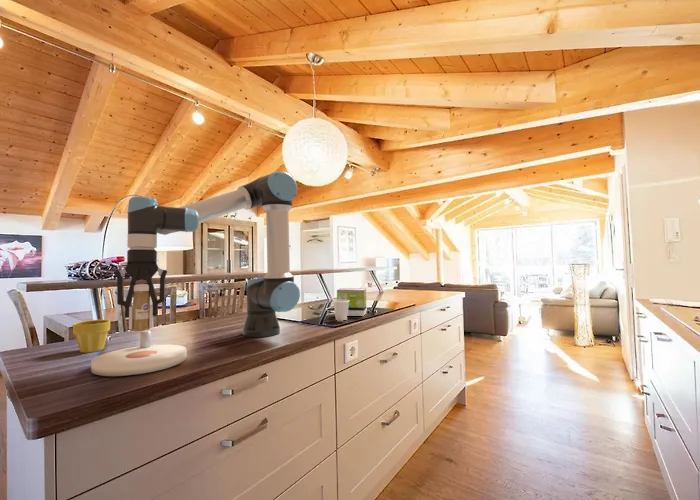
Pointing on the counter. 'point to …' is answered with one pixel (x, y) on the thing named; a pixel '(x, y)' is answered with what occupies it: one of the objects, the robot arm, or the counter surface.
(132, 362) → the disc
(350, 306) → the tea box
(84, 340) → the plant pot
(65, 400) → the counter surface
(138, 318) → the sprinkles bottle
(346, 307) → the dixie cup
